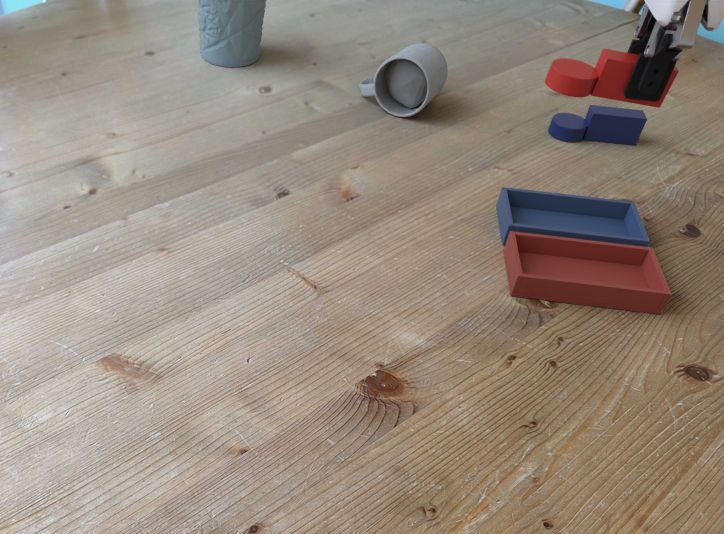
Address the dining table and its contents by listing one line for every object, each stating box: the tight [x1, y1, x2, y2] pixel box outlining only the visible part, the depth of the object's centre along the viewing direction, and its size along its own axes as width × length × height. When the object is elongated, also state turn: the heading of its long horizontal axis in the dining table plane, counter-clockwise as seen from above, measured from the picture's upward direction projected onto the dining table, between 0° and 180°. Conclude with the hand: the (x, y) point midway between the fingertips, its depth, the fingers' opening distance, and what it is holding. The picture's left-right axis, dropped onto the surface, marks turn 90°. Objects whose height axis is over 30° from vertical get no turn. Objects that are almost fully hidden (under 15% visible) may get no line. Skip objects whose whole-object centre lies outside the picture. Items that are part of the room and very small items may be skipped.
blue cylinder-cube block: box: [547, 104, 648, 146], centre depth 94 cm, size 11×4×4 cm, turn 82°
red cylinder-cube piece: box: [544, 48, 680, 109], centre depth 70 cm, size 11×4×4 cm, turn 81°
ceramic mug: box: [358, 42, 449, 118], centre depth 97 cm, size 11×8×8 cm
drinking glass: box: [197, 0, 267, 68], centre depth 104 cm, size 10×10×12 cm
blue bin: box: [495, 186, 651, 247], centre depth 79 cm, size 14×7×2 cm, turn 82°
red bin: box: [503, 231, 673, 315], centre depth 73 cm, size 14×7×2 cm, turn 82°
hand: (637, 89), depth 70 cm, fingers closed on red cylinder-cube piece, 2 cm apart
